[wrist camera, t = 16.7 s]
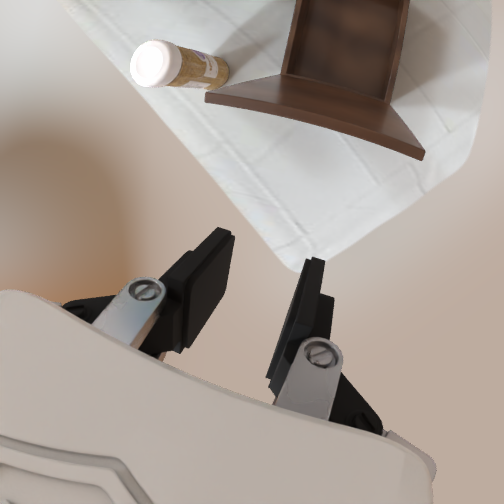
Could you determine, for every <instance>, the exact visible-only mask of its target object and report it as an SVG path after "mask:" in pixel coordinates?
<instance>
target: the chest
mask: <svg viewBox="0 0 504 504" xmlns="http://www.w3.org/2000/svg"><path fill="white" fill-rule="evenodd" d="M409 1H410V0H297V1H296V5H295V10H294V14H293V19H292V23H291V28H290V32H289V37H288V41H287V46H286V51H285V55H284V60H283V64H282V69H281V74H280V75H285V76H290V77H295V78H300V79H304V80H308V81H313V82H317V83H321V84H325V85H329V86H333V87H336V88H340V89H343V90H347V91H350V92H354V93H357V94H360V95H363V96H366V97H369V98H372V99H375V100H378V101H381V102H384V103H387V104H390V101H391V97H392V92H393V88H394V84H395V79H396V75H397V70H398V65H399V61H400V56H401V50H402V45H403V40H404V34H405V28H406V22H407V15H408V9H409Z"/></svg>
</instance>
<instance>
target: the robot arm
mask: <svg viewBox="0 0 504 504" xmlns="http://www.w3.org/2000/svg"><path fill="white" fill-rule="evenodd" d="M234 241H235V236H233V235H231V231H229V230H226V229H222V228H219V227H217V228H216V229H215V230H214V231H213V232H212V233H211V234H210V235H209V236H208V237H207V238H206V239H205V240H204V241H203V242H202V243H201V244H200V245H199V246H198V247H197V248H196V249H195V250H194V251H190V250H189V251H187V252H186V253H185V254H184V255H183V256H182V257H181V258H180V259H179V260H178V261H177V262H176V263H175V264H174V265H173V266H172V267H171V268H170V269H169V270H168V271H167V272H166V273H165V274H164V275H162V276H161V277H160V278H159V279H158V280H157V279H155V278H151V277H140V278H135V279H133V280H131V281H130V282H128V283H127V284H126V285H125V286H124V288H123V289H122V290H121V291H120V292H119V293H118V294H117V295H111V296H105V297H96V298H88V299H80V300H74V301H70V302H68V303H66V304H64V305H63V306H61V303H57V302H50V301H48V300H46V299H44V298H42V297H40V296H37V295H34V294H32V293H29V292H25V291H20V290H3V291H0V504H433V490H432V482H433V479H434V477H435V474H436V464H435V462H434V460H433V459H432V458H431V457H430V456H429V455H427V454H426V453H424V452H423V451H421V450H420V449H418V448H417V447H415V446H414V445H412V444H411V443H409V442H408V441H406V440H405V439H403V438H402V437H400V436H399V435H397V434H396V433H394V432H393V431H392V430H390V431H388V432H387V431H385V430H384V429H383V425H382V421H381V420H380V418H379V416H378V415H377V414H376V413H375V412H374V410H373V409H372V408H371V407H370V406H369V404H368V403H367V402H366V401H365V400H364V398H363V397H362V396H361V395H360V394H359V393H358V392H357V390H356V389H355V388H354V387H353V385H352V384H351V383H350V382H349V381H348V380H347V378H346V377H345V376H344V375H343V374H342V372H341V369H342V365H343V355H342V352H341V350H340V349H339V348H338V346H337V345H335V344H334V343H333V342H331V341H330V333H331V326H332V318H333V309H334V298H333V297H330V296H327V295H324V294H321V293H320V290H321V284H322V278H323V272H324V265H325V261H324V260H321V259H318V258H315V257H312V259H311V260H309V259H306V260H305V263H304V266H303V269H302V272H301V275H300V278H299V281H298V284H297V287H296V290H295V293H294V296H293V299H292V302H291V304H290V307H289V310H288V313H287V316H286V319H285V322H284V325H283V328H282V331H281V334H280V337H279V340H278V343H277V346H276V349H275V352H274V355H273V358H272V361H271V363H270V367H269V369H268V372H267V375H266V378H268V379H271V381H270V384H269V386H268V387H269V388H270V389H271V390H272V392H273V393H274V395H275V396H276V397H275V399H274V402H273V404H272V405H271V404H268V403H265V402H262V401H259V400H256V399H253V398H250V397H247V396H245V395H242V394H239V393H236V392H233V391H231V390H228V389H226V388H223V387H221V386H218V385H215V384H213V383H210V382H208V381H205V380H203V379H200V378H198V377H196V376H193V375H191V374H188V373H186V372H184V371H182V370H179V369H177V368H175V367H173V366H170V365H168V364H166V363H164V362H163V360H164V358H165V356H166V352H167V351H175V352H177V353H179V354H181V352H182V351H183V349H184V348H185V347H186V348H190V346H191V345H192V343H193V342H194V340H195V339H196V337H197V335H198V334H199V333H200V331H201V329H202V328H203V326H204V325H205V323H206V322H207V320H208V319H209V317H210V316H211V314H212V312H213V311H214V309H215V308H216V306H217V305H218V303H219V302H220V300H221V299H222V297H223V295H224V293H225V290H226V286H227V280H228V274H229V269H230V262H231V257H232V252H233V246H234Z"/></svg>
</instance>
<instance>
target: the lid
mask: <svg viewBox="0 0 504 504" xmlns="http://www.w3.org/2000/svg"><path fill="white" fill-rule="evenodd" d="M205 102H206V103H212V104H219V105H225V106H231V107H237V108H242V109H248V110H253V111H258V112H263V113H268V114H272V115H277V116H281V117H286V118H290V119H294V120H298V121H302V122H306V123H310V124H313V125H317V126H321V127H324V128H328V129H331V130H335V131H338V132H341V133H345V134H348V135H351V136H354V137H357V138H360V139H363V140H366V141H369V142H372V143H375V144H378V145H381V146H383V147H386V148H389V149H392V150H394V151H397V152H400V153H402V154H405V155H407V156H410V157H412V158H415V159H417V160H420V161H422V160H423V157H424V155H425V150H424V148H423V147H422V145H421V144H420V143H419V141H418V140H417V138H416V137H415V136H414V134H413V133H412V132H411V130H410V129H409V128H408V126H407V125H406V124H405V123H404V121H403V120H402V119H401V118H400V116H399V115H398V114H397V113H396V111H395V110H394V109H393V108H392V107H391V105H390V104H387V103H384V102H381V101H378V100H375V99H372V98H369V97H366V96H363V95H360V94H357V93H354V92H350V91H347V90H343V89H340V88H336V87H333V86H329V85H325V84H321V83H317V82H313V81H308V80H304V79H300V78H295V77H290V76H285V75H275V76H269V77H265V78H260V79H255V80H251V81H246V82H242V83H238V84H234V85H230V86H226V87H222V88H219V89H215V90H212V91H208V92H206V93H205Z"/></svg>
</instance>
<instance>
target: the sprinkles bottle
mask: <svg viewBox="0 0 504 504" xmlns="http://www.w3.org/2000/svg"><path fill="white" fill-rule="evenodd" d="M130 70H131V74H132V77H133V79H134V80H135V81H136V82H137V83H138V84H139V85H141V86H145V87H163V86H173V87H185V88H198V89H199V88H204V89H207V90H214V89H217V88H219V87H221V86H222V85H223V84H225V82H226V81H227V79H228V74H229V69H228V66H227V64H226V62H225V61H224V60H223V59H221V58H219V57H213V56H210V55H208V54H205V53H202V52H199V51H195V50H192V49H187V48H183V47H179V46H176V45H174V44H173V43H171V42H168V41H164V40H158V39H154V40H149V41H147V42H145V43H143V44H142V45H141V46H140V47H139V48H138V49H137V50H136V51H135V53H134V55H133V57H132V60H131V65H130Z"/></svg>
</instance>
